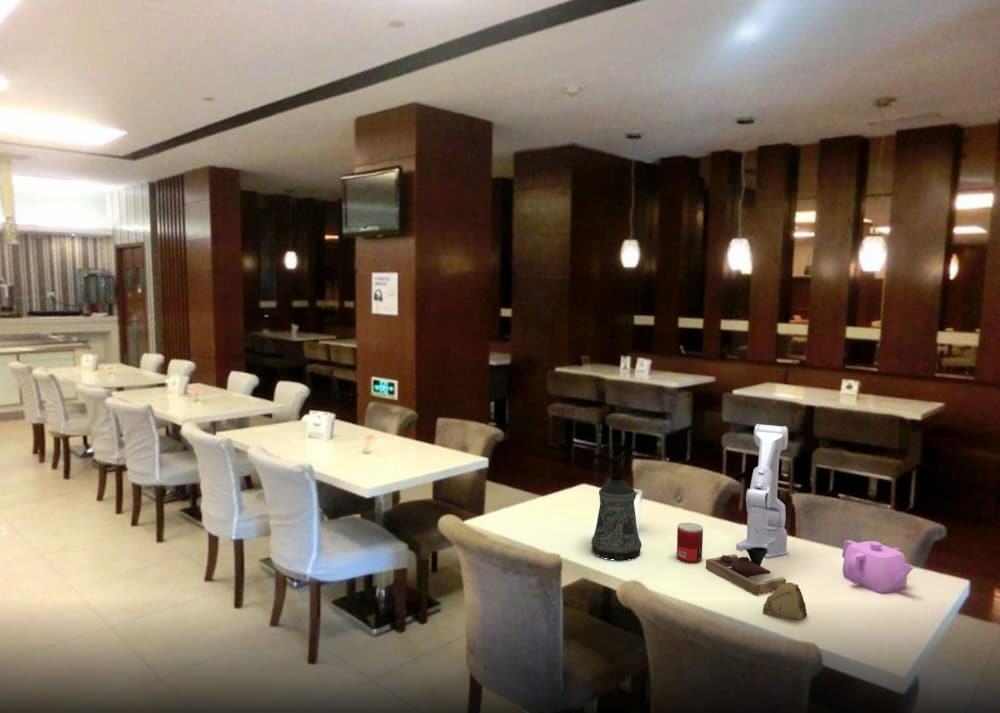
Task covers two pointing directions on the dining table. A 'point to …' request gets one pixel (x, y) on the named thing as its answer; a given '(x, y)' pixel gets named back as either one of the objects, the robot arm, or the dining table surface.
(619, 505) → the beer stein
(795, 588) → the rock
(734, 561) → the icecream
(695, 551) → the canned food
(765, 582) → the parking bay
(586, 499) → the dining table surface
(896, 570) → the teakettle
